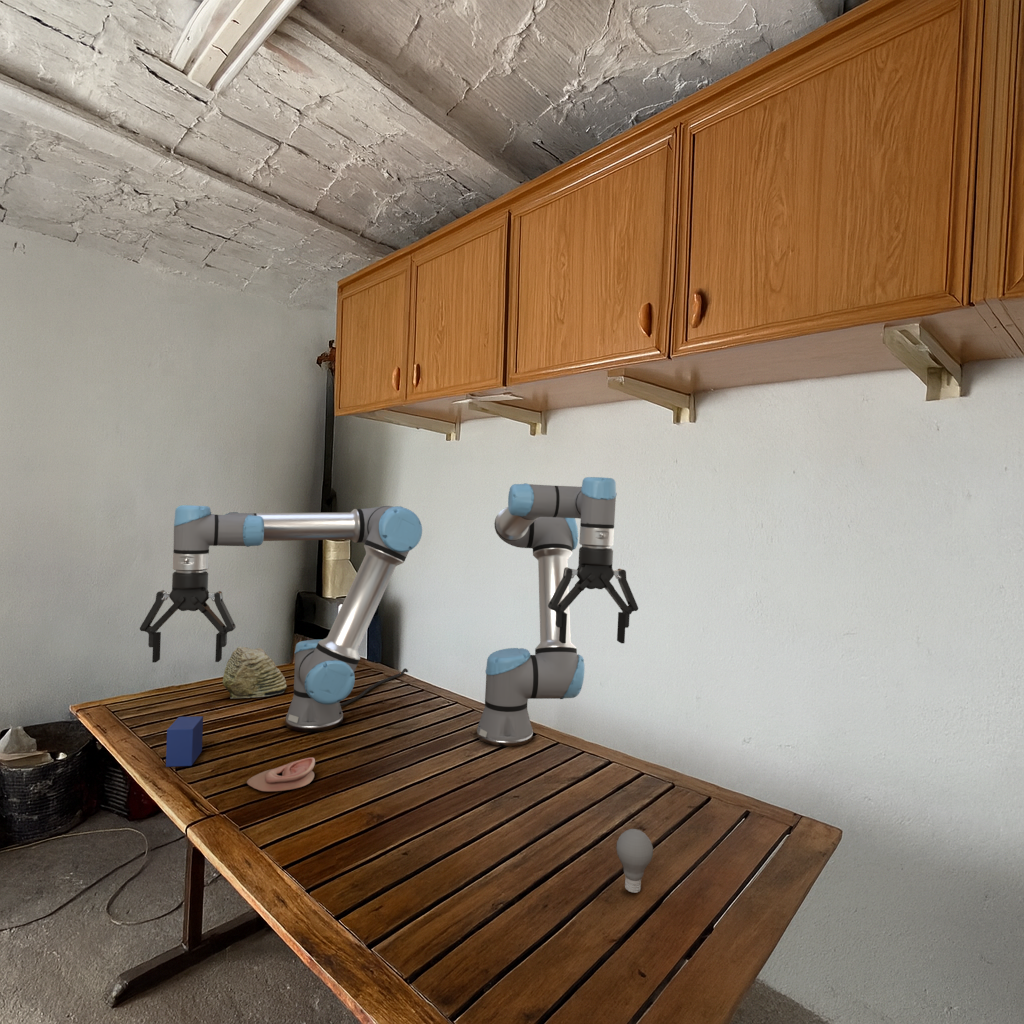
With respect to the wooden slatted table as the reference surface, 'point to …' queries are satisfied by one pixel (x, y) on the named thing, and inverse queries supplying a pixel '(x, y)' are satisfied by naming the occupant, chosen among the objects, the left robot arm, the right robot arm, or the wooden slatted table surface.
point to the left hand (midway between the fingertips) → (187, 660)
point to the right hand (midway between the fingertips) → (591, 642)
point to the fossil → (252, 674)
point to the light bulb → (634, 857)
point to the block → (184, 741)
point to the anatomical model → (284, 776)
